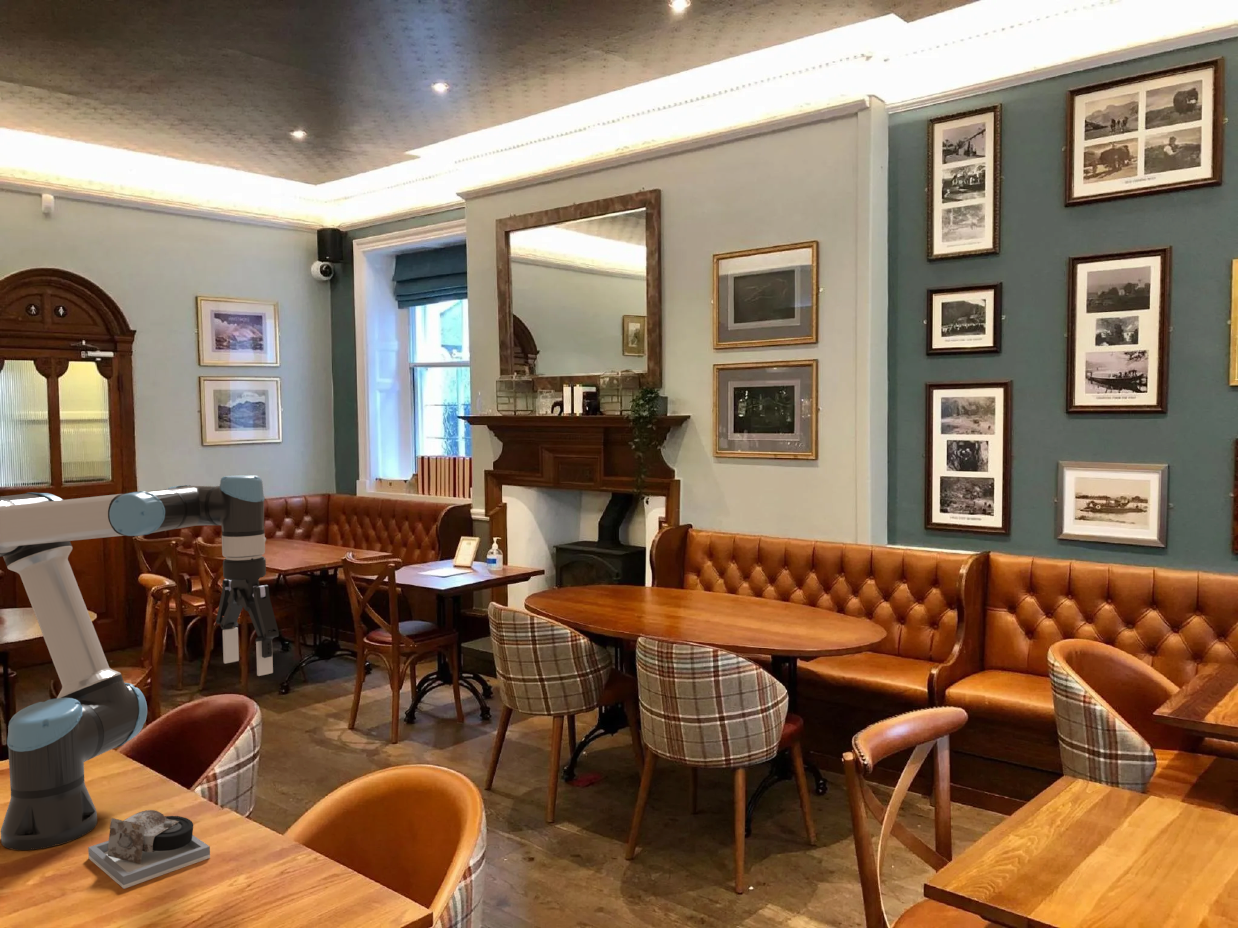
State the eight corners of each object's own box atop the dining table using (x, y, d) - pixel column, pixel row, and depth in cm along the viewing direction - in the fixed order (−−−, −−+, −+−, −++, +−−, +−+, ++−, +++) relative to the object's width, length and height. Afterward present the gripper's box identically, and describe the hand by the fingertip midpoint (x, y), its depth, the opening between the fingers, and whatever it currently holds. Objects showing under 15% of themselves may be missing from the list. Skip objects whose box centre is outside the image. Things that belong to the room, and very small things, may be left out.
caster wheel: (201, 846, 164) (162, 871, 155) (146, 832, 167) (104, 857, 157) (205, 810, 164) (166, 833, 154) (150, 796, 166) (108, 818, 157)
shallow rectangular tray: (88, 858, 160) (88, 846, 160) (171, 830, 171) (171, 820, 170) (123, 888, 149) (123, 876, 149) (210, 857, 160) (209, 846, 160)
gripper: (296, 560, 169) (299, 675, 170) (233, 549, 186) (236, 653, 187) (256, 565, 163) (260, 684, 164) (195, 553, 180) (199, 660, 181)
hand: (247, 667), depth 176 cm, fingers open, 13 cm apart
